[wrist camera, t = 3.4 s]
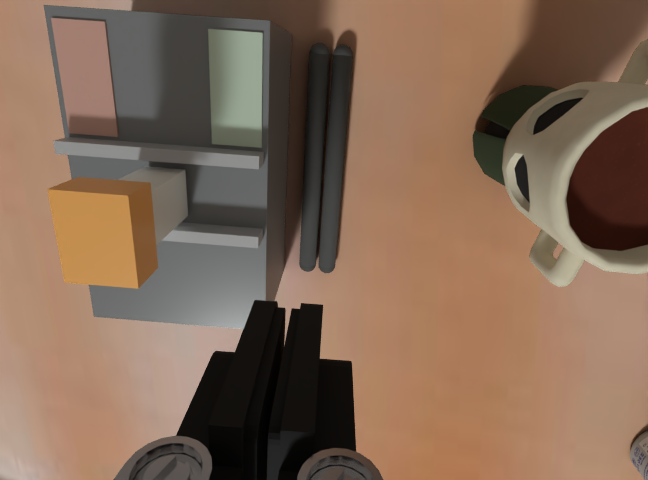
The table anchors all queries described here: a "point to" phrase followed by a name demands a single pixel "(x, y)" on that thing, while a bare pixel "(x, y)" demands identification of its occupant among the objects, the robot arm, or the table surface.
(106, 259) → the switch
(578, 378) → the table surface
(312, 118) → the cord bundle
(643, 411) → the table surface
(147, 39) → the grey box
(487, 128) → the character mug
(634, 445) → the energy drink
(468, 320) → the table surface
